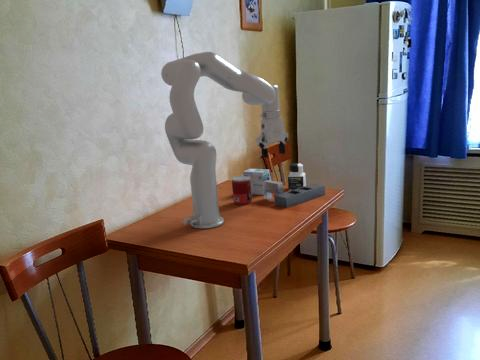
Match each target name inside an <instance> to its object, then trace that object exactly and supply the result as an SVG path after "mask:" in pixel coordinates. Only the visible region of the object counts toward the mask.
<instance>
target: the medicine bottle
mask: <svg viewBox="0 0 480 360" xmlns="http://www.w3.org/2000/svg"><path fill="white" fill-rule="evenodd" d="M287 184H288V185H287V188H288V190H287V191H290V190H294V189H297V188H300V187H303V186H306V185H307V179H306V172H304V164H302V163H299V162H295V163H291V164H290V165H289V174H288V176H287Z"/></svg>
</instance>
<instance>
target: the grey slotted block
mask: <svg viewBox="0 0 480 360" xmlns="http://www.w3.org/2000/svg"><path fill="white" fill-rule="evenodd" d="M324 195H326V185H324V184H323V185H322V184H318V183H317V184H316V183H310V184H306V186H303V187H300V188H297V189H294V190H290V191H289V190H287V191H283V193H281V194H278V195H276V194H274V195H273V197H274V198H273V201H274V206H278V207H282V208H285V207H286V209H287V207H288V208H290V206H291V207H293V206H296V205H299V204H302V203H305V202H307V201H310V200H314V199H316V198H319V197H322V196H324Z"/></svg>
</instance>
